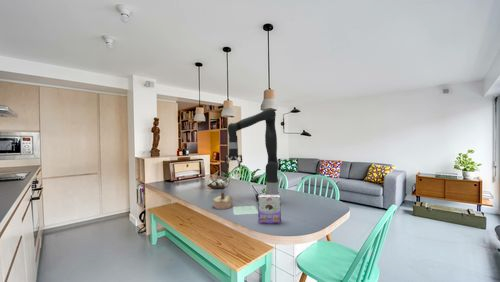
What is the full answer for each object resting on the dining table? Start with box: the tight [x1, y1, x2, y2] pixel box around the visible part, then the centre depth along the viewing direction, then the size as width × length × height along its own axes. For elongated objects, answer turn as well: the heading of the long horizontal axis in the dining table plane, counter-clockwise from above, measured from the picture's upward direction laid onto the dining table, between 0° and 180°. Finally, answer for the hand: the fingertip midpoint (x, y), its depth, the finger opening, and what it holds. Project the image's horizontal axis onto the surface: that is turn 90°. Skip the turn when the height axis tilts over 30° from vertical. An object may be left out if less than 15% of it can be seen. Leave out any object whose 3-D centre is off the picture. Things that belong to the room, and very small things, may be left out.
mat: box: [232, 205, 258, 216], centre depth 154 cm, size 17×17×1 cm
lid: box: [212, 191, 233, 203], centre depth 163 cm, size 15×15×6 cm
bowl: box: [213, 201, 232, 210], centre depth 163 cm, size 13×13×6 cm
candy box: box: [257, 194, 282, 225], centre depth 133 cm, size 14×6×16 cm, turn 84°
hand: (233, 167), depth 174 cm, fingers open, 8 cm apart
